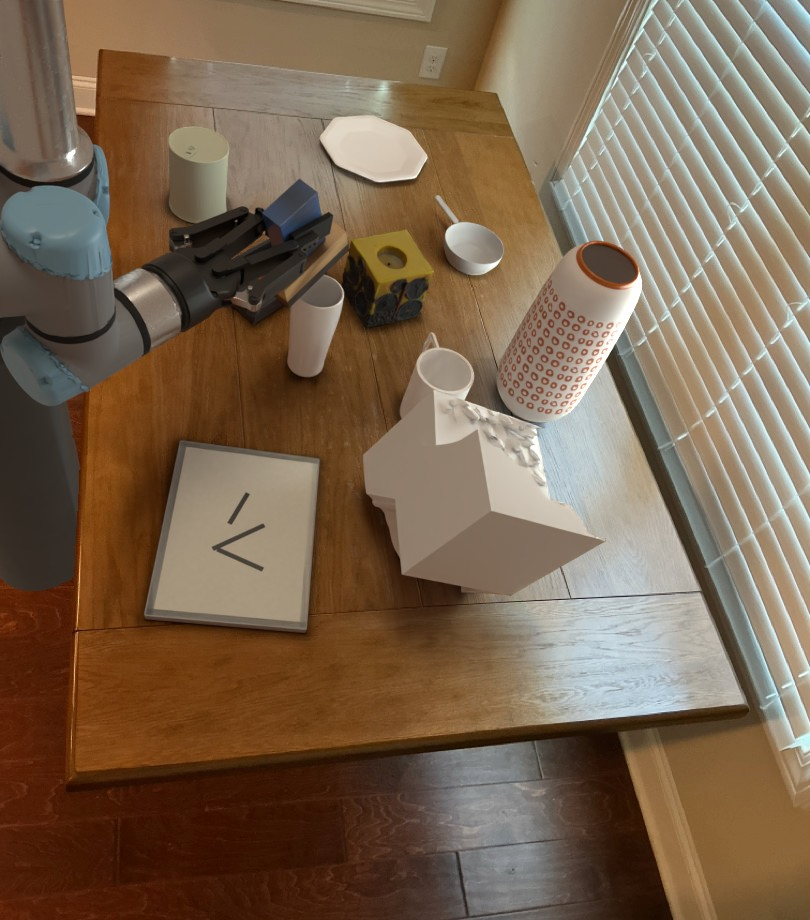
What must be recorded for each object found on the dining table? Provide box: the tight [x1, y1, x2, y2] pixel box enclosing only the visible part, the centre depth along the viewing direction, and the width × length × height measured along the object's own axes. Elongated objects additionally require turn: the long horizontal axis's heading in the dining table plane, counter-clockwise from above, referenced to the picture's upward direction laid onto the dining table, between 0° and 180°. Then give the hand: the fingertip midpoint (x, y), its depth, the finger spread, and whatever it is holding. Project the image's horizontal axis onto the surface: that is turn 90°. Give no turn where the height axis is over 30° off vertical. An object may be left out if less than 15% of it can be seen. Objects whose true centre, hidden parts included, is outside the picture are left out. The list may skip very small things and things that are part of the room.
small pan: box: [433, 195, 505, 276], centre depth 133 cm, size 11×18×4 cm, turn 32°
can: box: [167, 125, 230, 224], centre depth 119 cm, size 9×9×12 cm
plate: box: [318, 114, 428, 184], centre depth 144 cm, size 20×20×2 cm
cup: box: [399, 331, 475, 419], centre depth 108 cm, size 8×12×10 cm
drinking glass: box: [286, 274, 345, 378], centre depth 105 cm, size 7×7×15 cm
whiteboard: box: [143, 439, 321, 634], centre depth 92 cm, size 18×24×1 cm
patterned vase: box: [496, 240, 643, 423], centre depth 106 cm, size 13×13×28 cm
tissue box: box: [362, 390, 607, 597], centre depth 90 cm, size 20×16×25 cm
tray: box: [231, 238, 328, 325], centre depth 117 cm, size 16×10×3 cm, turn 141°
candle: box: [340, 228, 435, 328], centre depth 118 cm, size 10×10×10 cm
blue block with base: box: [258, 178, 350, 309], centre depth 88 cm, size 11×5×13 cm, turn 141°
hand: (318, 214), depth 89 cm, fingers closed on blue block with base, 3 cm apart
